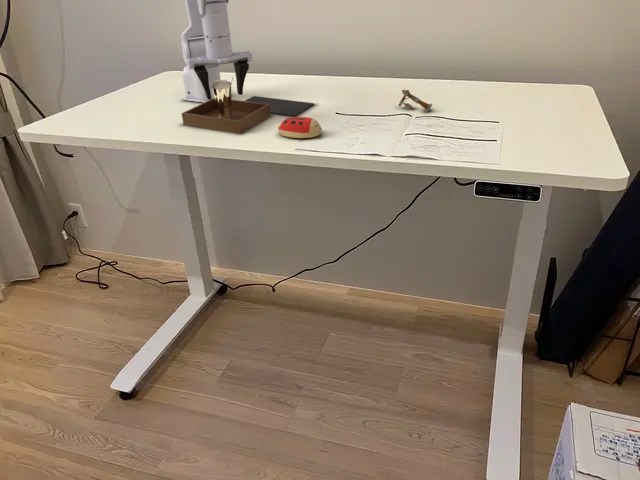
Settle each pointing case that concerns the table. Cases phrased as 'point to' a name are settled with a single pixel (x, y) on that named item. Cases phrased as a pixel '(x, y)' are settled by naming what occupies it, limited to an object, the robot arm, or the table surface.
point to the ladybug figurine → (300, 127)
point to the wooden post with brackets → (415, 99)
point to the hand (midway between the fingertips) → (224, 96)
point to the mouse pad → (282, 106)
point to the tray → (241, 120)
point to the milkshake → (223, 98)
